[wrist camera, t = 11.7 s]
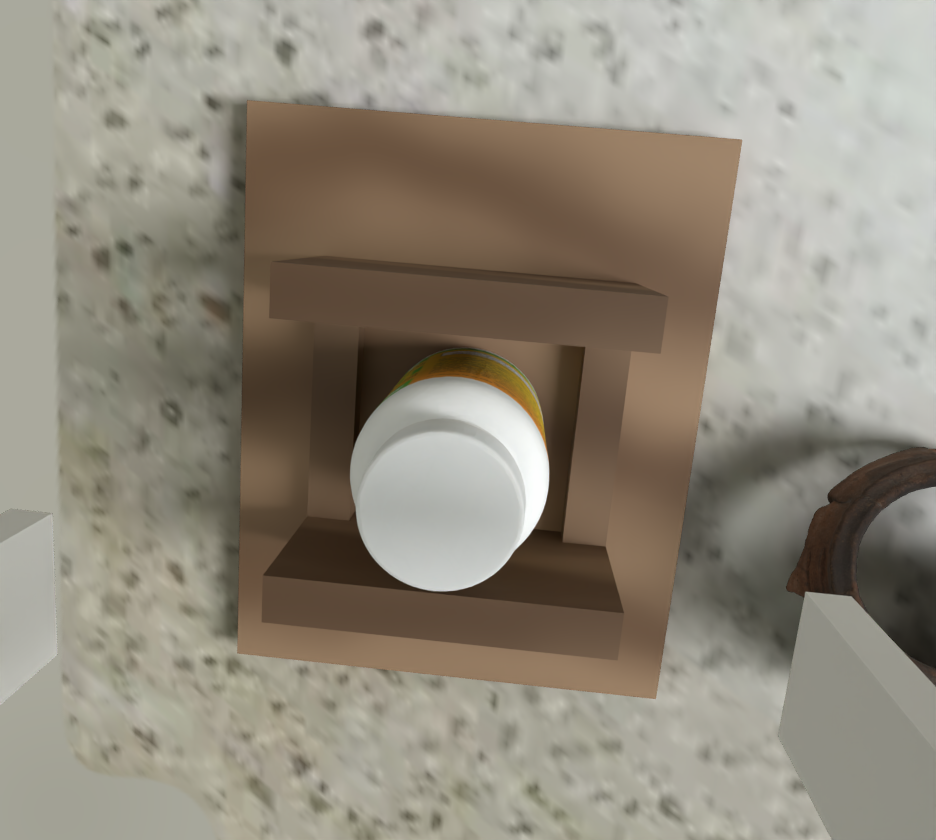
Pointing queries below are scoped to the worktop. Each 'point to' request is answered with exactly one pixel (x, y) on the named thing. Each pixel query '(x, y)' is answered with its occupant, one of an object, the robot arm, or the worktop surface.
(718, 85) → the worktop surface
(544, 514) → the wooden cradle tray
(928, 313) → the worktop surface
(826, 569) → the pottery mug
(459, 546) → the supplement bottle
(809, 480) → the worktop surface
